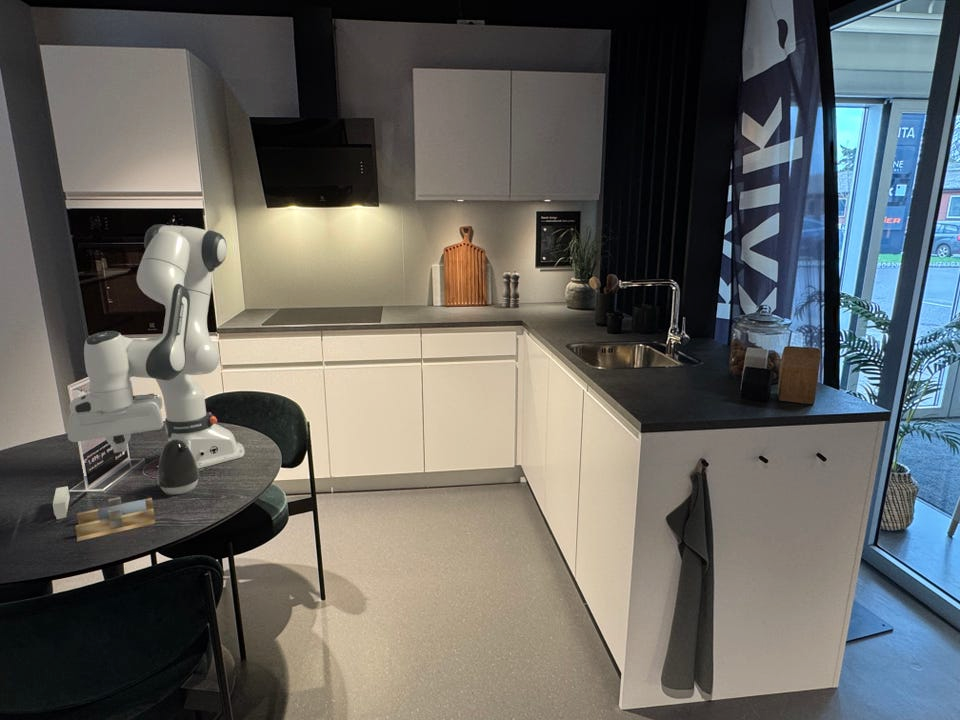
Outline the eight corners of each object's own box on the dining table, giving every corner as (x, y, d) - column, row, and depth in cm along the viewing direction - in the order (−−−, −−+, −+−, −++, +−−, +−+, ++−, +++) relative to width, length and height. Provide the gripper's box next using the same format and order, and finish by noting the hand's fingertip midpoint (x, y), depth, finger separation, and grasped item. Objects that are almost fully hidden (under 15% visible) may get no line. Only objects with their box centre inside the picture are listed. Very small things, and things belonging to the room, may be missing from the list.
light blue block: (146, 511, 149) (144, 496, 149) (147, 517, 146) (145, 503, 145) (100, 521, 144) (98, 506, 144) (100, 528, 141) (97, 513, 140)
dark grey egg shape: (174, 503, 155) (166, 450, 152) (152, 494, 161) (144, 442, 157) (209, 489, 164) (203, 438, 160) (187, 480, 169) (180, 430, 166)
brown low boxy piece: (153, 506, 154) (150, 487, 152) (155, 526, 144) (152, 506, 142) (40, 531, 142) (36, 510, 140) (34, 554, 132) (30, 532, 130)
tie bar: (70, 503, 155) (67, 486, 154) (68, 520, 147) (64, 502, 146) (59, 505, 154) (56, 488, 153) (56, 523, 146) (52, 504, 144)
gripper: (160, 389, 151) (167, 439, 154) (64, 401, 141) (74, 454, 145) (160, 395, 145) (168, 447, 149) (61, 408, 136) (71, 463, 139)
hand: (120, 451), depth 147 cm, fingers closed
